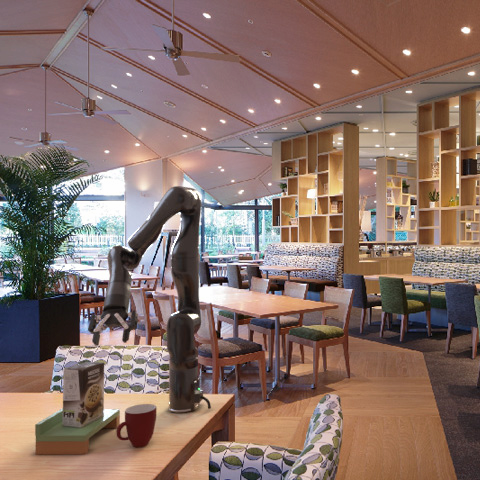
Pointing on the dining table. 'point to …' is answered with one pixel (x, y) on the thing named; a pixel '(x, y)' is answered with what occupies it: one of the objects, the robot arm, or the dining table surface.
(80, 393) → the coffee box
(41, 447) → the shelf
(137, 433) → the mug
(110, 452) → the dining table surface
